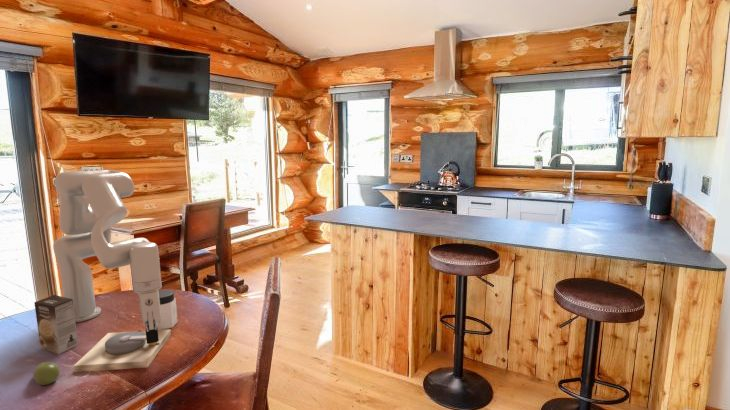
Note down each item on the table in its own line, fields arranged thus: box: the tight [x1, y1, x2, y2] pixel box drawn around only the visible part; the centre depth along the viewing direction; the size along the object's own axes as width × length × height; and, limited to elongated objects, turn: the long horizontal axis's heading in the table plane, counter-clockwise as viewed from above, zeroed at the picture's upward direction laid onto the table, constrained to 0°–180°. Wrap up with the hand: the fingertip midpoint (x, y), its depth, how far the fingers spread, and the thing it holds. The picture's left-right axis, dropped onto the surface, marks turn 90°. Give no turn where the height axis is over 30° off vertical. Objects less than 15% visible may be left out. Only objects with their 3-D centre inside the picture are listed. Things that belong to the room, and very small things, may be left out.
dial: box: [105, 327, 157, 355], centre depth 127 cm, size 15×11×7 cm
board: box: [73, 328, 172, 373], centre depth 128 cm, size 20×20×2 cm
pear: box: [33, 361, 61, 386], centre depth 113 cm, size 6×5×10 cm
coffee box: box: [34, 294, 79, 355], centre depth 130 cm, size 9×6×16 cm
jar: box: [156, 289, 178, 330], centre depth 145 cm, size 9×8×12 cm
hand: (152, 341), depth 123 cm, fingers closed
